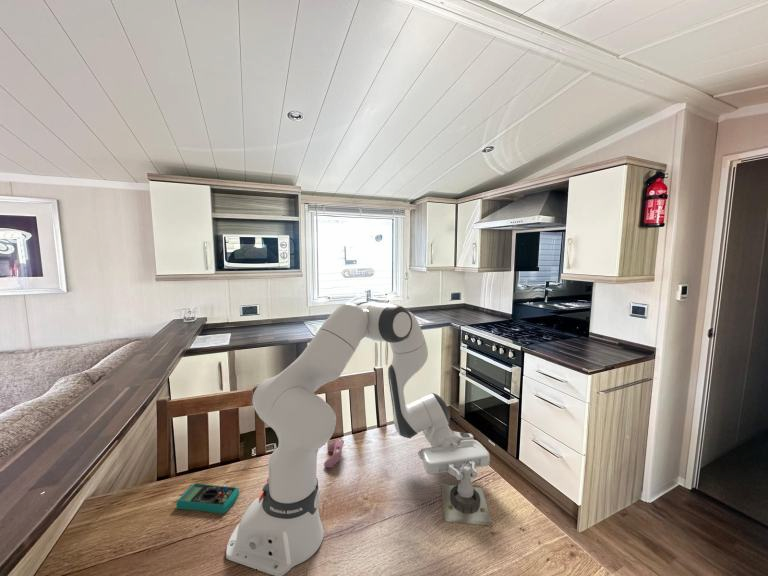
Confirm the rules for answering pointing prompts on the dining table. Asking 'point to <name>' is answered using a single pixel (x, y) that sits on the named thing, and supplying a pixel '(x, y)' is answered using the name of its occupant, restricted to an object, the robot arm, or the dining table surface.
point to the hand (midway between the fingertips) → (467, 476)
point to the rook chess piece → (466, 482)
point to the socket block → (465, 506)
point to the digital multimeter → (208, 498)
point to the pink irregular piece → (334, 453)
